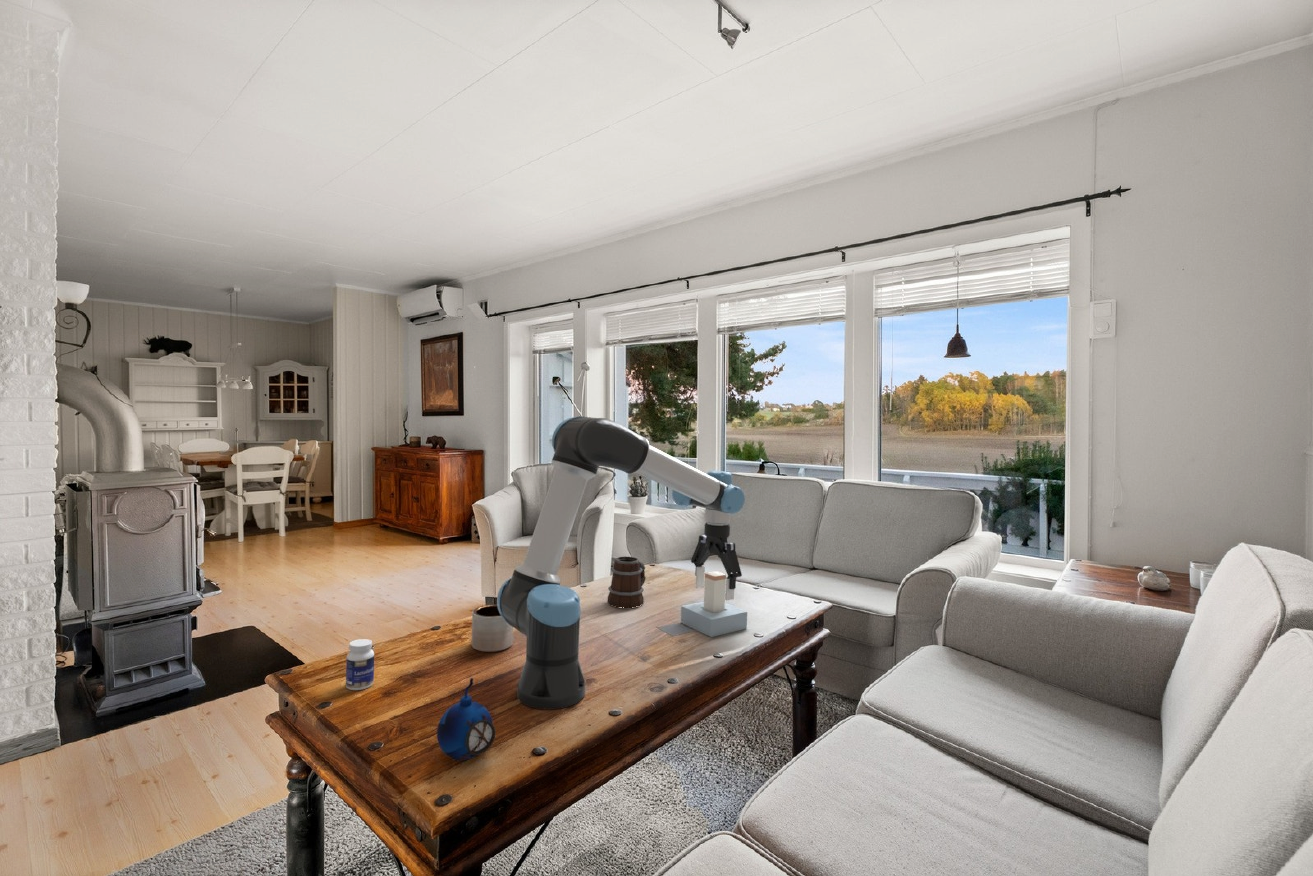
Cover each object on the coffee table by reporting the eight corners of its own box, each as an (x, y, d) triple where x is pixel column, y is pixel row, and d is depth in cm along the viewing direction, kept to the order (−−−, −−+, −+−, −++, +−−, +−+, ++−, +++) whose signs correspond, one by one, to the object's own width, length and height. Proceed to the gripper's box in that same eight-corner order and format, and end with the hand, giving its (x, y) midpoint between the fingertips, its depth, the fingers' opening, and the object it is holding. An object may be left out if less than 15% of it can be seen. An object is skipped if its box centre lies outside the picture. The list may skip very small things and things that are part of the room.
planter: (521, 646, 167) (521, 611, 166) (485, 656, 159) (486, 620, 158) (498, 635, 174) (499, 601, 174) (463, 644, 166) (464, 609, 166)
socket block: (710, 640, 176) (711, 619, 176) (680, 625, 187) (681, 605, 187) (746, 631, 184) (747, 611, 184) (715, 617, 195) (716, 599, 195)
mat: (672, 639, 175) (672, 636, 175) (656, 630, 182) (656, 627, 182) (694, 634, 180) (694, 631, 180) (677, 626, 187) (678, 622, 187)
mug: (629, 611, 199) (630, 565, 198) (600, 603, 206) (601, 558, 205) (657, 600, 211) (658, 556, 211) (629, 593, 218) (631, 551, 218)
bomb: (457, 781, 106) (459, 695, 105) (426, 755, 113) (428, 675, 113) (506, 758, 113) (508, 678, 113) (473, 736, 121) (475, 660, 120)
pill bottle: (355, 693, 136) (356, 649, 136) (340, 686, 139) (341, 643, 139) (379, 684, 141) (379, 641, 141) (364, 677, 144) (364, 635, 144)
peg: (712, 623, 182) (714, 576, 182) (703, 619, 186) (705, 573, 185) (724, 620, 185) (726, 574, 184) (714, 616, 189) (716, 571, 188)
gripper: (756, 529, 176) (752, 603, 177) (700, 515, 196) (697, 581, 197) (736, 531, 172) (733, 606, 173) (681, 517, 192) (678, 584, 193)
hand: (714, 593), depth 185 cm, fingers open, 13 cm apart
